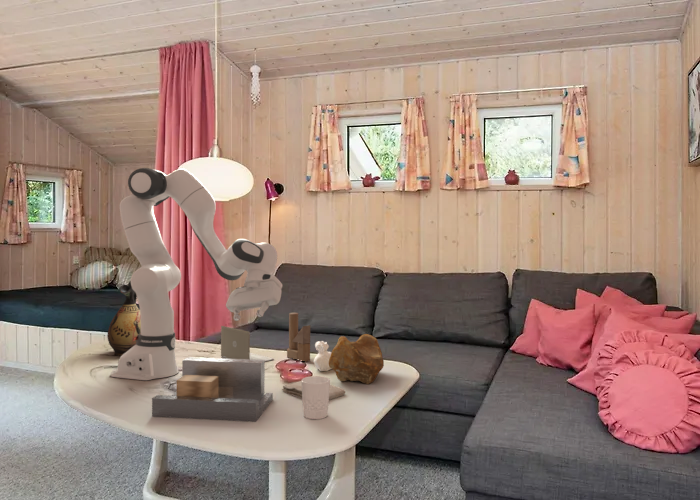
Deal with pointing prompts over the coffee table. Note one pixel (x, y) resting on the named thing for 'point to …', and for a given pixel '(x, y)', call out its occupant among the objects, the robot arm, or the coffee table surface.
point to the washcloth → (296, 390)
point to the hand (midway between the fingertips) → (247, 317)
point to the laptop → (237, 345)
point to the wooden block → (298, 340)
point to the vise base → (209, 407)
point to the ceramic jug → (125, 323)
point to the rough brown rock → (357, 359)
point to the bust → (322, 356)
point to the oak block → (198, 386)
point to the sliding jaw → (230, 375)
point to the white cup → (315, 396)
